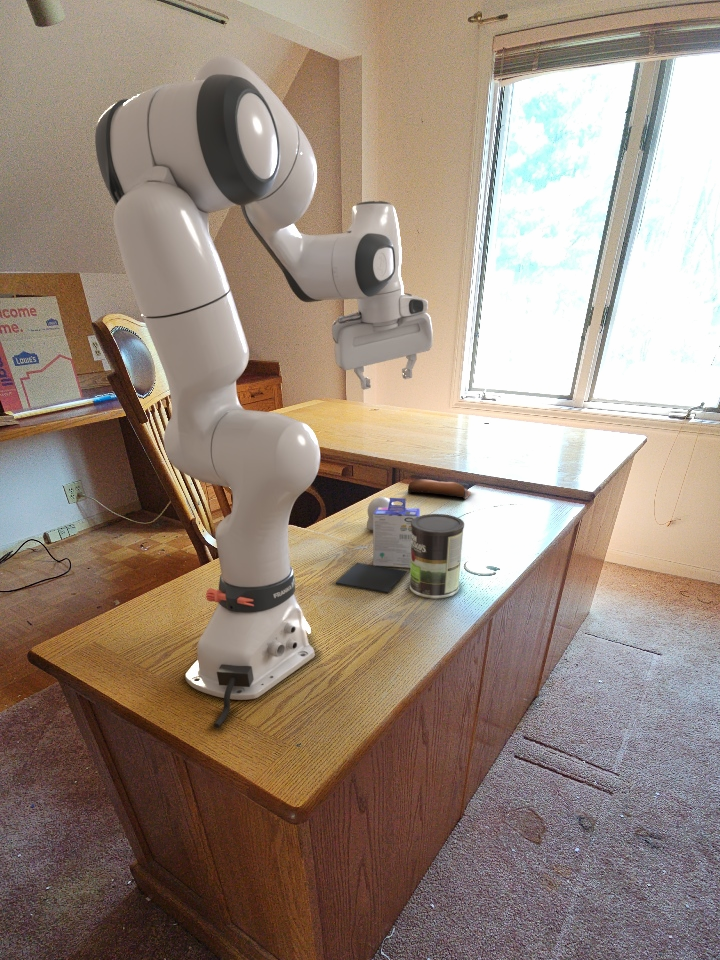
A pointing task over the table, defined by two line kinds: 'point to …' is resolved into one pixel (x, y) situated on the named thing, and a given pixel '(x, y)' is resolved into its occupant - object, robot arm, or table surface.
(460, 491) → the sunglasses case
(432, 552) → the coffee can
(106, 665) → the table surface
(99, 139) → the robot arm
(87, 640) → the table surface
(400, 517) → the ink cartridge box
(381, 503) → the chubby cartoon animal
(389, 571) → the coaster
